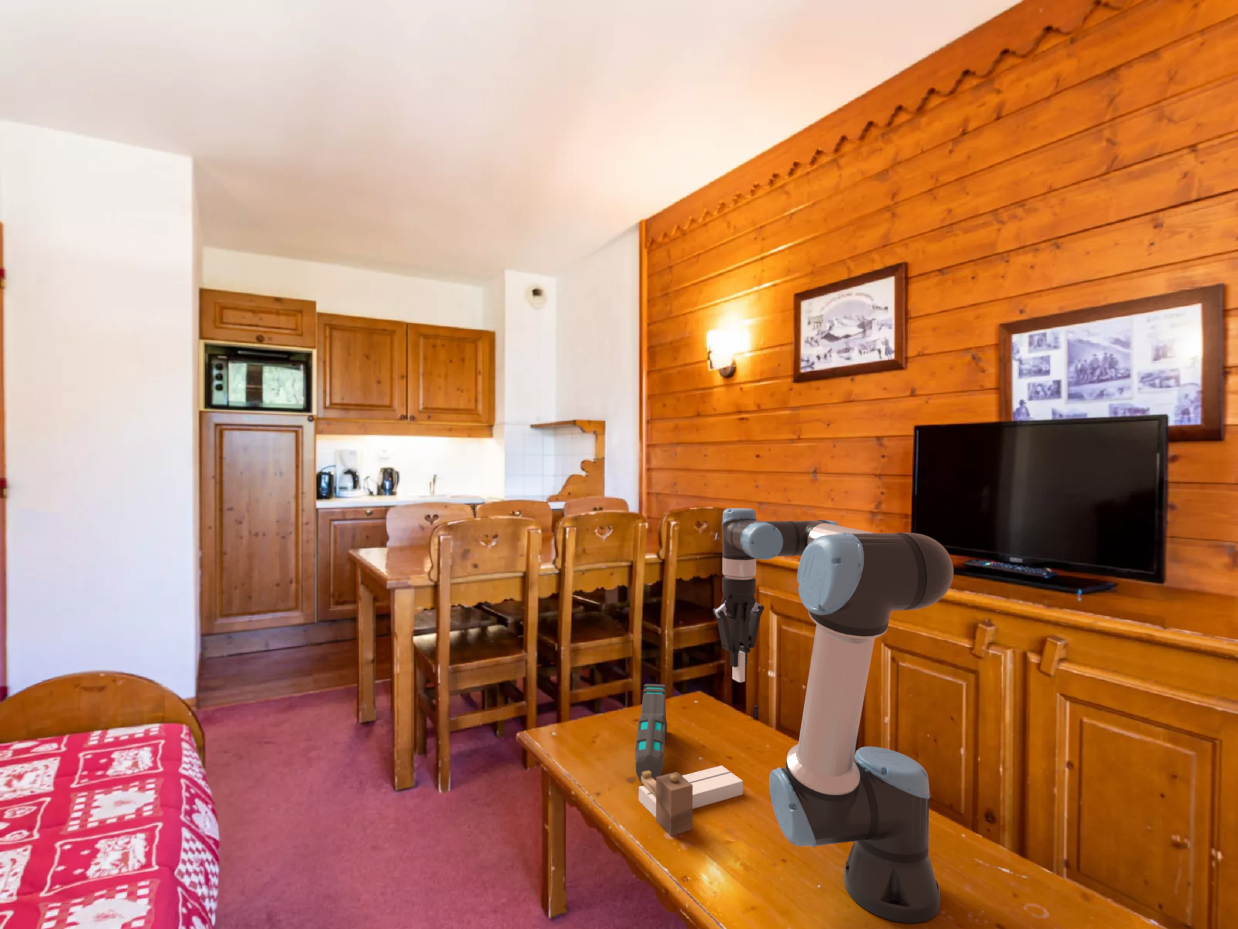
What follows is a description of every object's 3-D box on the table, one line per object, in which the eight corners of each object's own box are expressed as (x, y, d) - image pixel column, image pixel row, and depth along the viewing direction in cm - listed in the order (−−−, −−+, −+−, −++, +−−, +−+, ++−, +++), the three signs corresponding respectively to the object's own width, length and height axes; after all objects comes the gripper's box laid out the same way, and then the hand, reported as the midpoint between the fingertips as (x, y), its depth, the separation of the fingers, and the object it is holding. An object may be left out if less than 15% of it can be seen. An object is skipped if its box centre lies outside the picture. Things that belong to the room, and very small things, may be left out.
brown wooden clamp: (692, 829, 126) (692, 780, 126) (671, 836, 124) (671, 785, 124) (654, 793, 140) (654, 748, 140) (634, 798, 138) (634, 753, 138)
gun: (668, 723, 174) (667, 678, 169) (663, 812, 146) (662, 760, 142) (644, 722, 175) (642, 677, 170) (635, 810, 147) (633, 759, 142)
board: (742, 794, 140) (742, 780, 140) (657, 819, 130) (657, 804, 130) (721, 778, 147) (721, 765, 147) (638, 800, 137) (638, 786, 137)
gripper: (751, 571, 149) (751, 671, 149) (705, 575, 143) (705, 679, 144) (772, 576, 143) (772, 680, 143) (725, 581, 137) (724, 690, 137)
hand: (738, 680), depth 143 cm, fingers closed
